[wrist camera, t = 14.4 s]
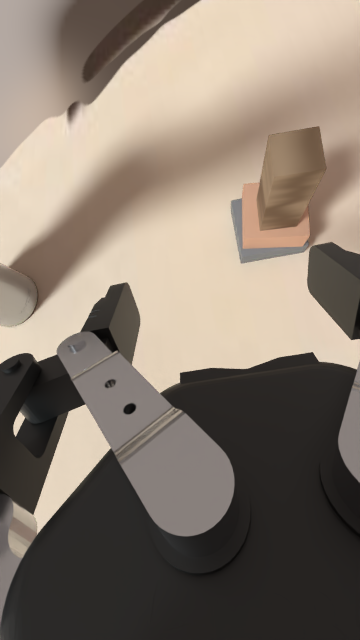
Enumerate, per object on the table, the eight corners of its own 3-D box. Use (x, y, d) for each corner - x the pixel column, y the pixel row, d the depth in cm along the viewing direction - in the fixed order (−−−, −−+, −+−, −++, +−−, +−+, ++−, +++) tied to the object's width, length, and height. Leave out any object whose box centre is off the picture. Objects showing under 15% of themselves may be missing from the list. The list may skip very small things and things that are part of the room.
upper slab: (242, 248, 37) (244, 238, 34) (241, 198, 38) (243, 183, 35) (302, 246, 36) (309, 235, 33) (299, 193, 37) (306, 178, 34)
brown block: (259, 230, 34) (274, 176, 24) (256, 199, 35) (268, 135, 25) (296, 226, 33) (326, 168, 23) (292, 194, 34) (319, 126, 24)
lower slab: (240, 265, 40) (242, 257, 37) (230, 212, 41) (231, 200, 38) (302, 254, 38) (308, 244, 36) (289, 200, 40) (294, 187, 37)
